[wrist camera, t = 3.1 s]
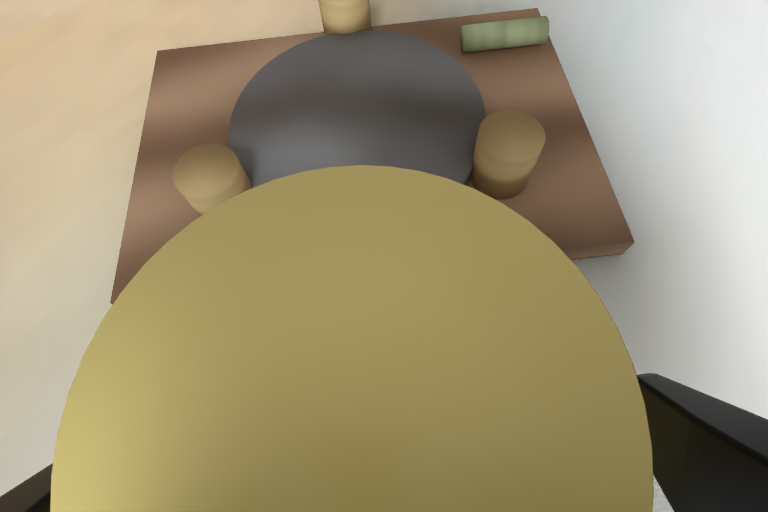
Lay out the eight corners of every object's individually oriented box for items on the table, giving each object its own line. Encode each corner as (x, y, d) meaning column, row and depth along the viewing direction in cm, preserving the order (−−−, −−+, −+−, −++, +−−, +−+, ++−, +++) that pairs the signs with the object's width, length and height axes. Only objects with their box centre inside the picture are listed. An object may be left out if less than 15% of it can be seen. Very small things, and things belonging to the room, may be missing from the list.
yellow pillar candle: (518, 560, 13) (1074, 1030, 2) (288, 587, 13) (-305, 1209, 2) (472, 334, 16) (609, 69, 5) (286, 356, 16) (41, 133, 5)
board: (622, 253, 17) (671, 206, 14) (125, 311, 17) (62, 277, 14) (529, 17, 24) (547, -52, 20) (168, 58, 24) (131, -5, 20)
